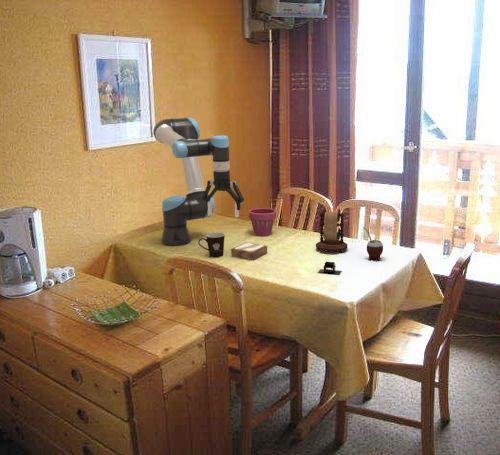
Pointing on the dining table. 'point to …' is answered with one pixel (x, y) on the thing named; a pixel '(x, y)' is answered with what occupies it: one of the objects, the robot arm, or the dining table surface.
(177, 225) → the robot arm
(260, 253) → the plinth
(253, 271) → the dining table surface
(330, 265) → the black hat
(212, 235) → the coffee mug
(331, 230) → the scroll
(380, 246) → the mate gourd
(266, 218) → the plant pot
